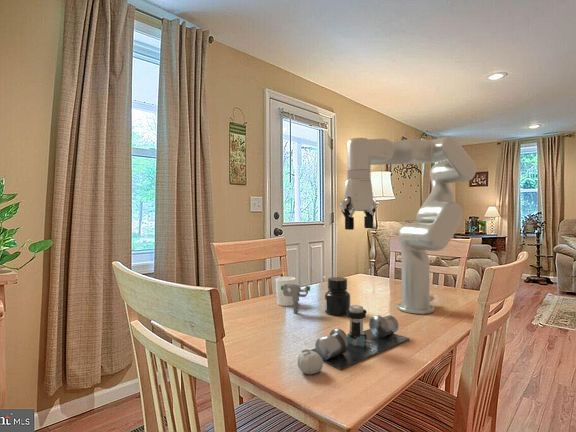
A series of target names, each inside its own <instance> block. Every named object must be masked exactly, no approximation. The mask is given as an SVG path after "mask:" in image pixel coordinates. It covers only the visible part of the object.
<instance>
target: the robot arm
mask: <svg viewBox="0 0 576 432" xmlns="http://www.w3.org/2000/svg"><path fill="white" fill-rule="evenodd" d="M346 163H347V164H346V167H347V169H346V171H347V172H346V173H347V176H346V177H347V180H345V183H344V189H343V191H344V192H343V200H342V201H341V202H340V203H339V207H340V209H341V213H342V214H343V215H342V216H343V217H344V229H345V230H350V231H353V230H355V220H354V214H355V212H363V214H364V215H365V216H364V217H363V218H364V219H363V221H364V229H373V228H374V216H375V213H376V210H377V206H378V203H377V202H376V201H374V194H373V187H372V186H373V184H372V180H371V178H372V175H371V172H372V171H371V169H372V168H371V167H372V166H375V165H376V166H377V165H379V166H380V165H404V164H405V165H407V164H409V165H410V164H434V165H432V167H431V168H430V171H429V179H430V183H431V192H430V194H429V195H428V197H426V199H425V200H424V202H423V204H422V205H421V206H420V208H419V209H418V211H417V213H416V221H417V222H416V221H415V222H407V223H404V224H403V225H401V227H400V228H399V229H398V235H397V236H398V244H399V247H400V255H401V302H399V303H397V305H396V306H397V307H396V308H397V309H398V310H399V311H402V312H404V313H408V314H413V315H414V314H415V315H417V314H418V315H427V314H432V313H434V311H435V307H434V306H433V304H431V301H434V300H435V296H434V295H432V294H431V295H430V259H429V256H428V253H427V251H431V252H438V251H441V250H442V251H443V249H445V248H446V247H447V245H448V244H449V242H451V239H452V238H453V237H454V235H455V234H456V232H457V230H458V229H459V228H460V226H461V224H462V221H463V217H464V216H463V215H464V214H463V209H462V207H461V205H460V204H459V203H457V202H455V201H454V199H455V195H454V192H453V190H452V189H451V186H450V184H453V183H454V184H455V183H464V182H469V181H471V180H473V178H475V176H476V172H477V168H476V164H475V162H474V161H473V159H472V158H471V156H470V155H469V154H468V153H467V151H466V150H465V149H464V147H463V146H462V145H461V144H460V142H458V140H456V139H455V138H453V137H451V136H443V137H439V138H438V137H437V138H433V139H401V140H397V141H393V142H391V140H390V139H387V138H372V139H371V138H367V137H354V138H350V139H349V140H348V141H347V144H346Z"/></svg>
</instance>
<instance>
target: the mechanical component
mask: <svg viewBox="0 0 576 432" xmlns="http://www.w3.org/2000/svg"><path fill="white" fill-rule="evenodd" d="M288 288H290V289H291V291H288V290H287V289H288ZM281 290H283V294H284V296H288V297H292V301H293V304H294V305H293V315H297V314H299V302H300V298H306V297H307V296H308V294H309V292H310V291H311V286H310V285H305V287H304V288H303V289H302V287H301V286H300V284H296V283H295V284H284V285H281ZM304 293H305V294H304Z"/></svg>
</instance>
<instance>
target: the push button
mask: <svg viewBox="0 0 576 432" xmlns="http://www.w3.org/2000/svg"><path fill="white" fill-rule="evenodd" d="M346 312H347V314H346V315H347V317H348V318H349V331H348V333H347V334H346V335H347V337H348V341H349V344H353V345H355V346H356V345H357V346H362V347H364V346H365V345H369V344H368V343H366V341H368V342H371V341H370V340H367V335H366V334H364V332H363V331H364V319H365V318H366V314H367V310H366V309H365V308H364V307H363V306H362V305H358V304H354V305H350V309H347V310H346ZM370 345H372V344H370Z"/></svg>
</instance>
